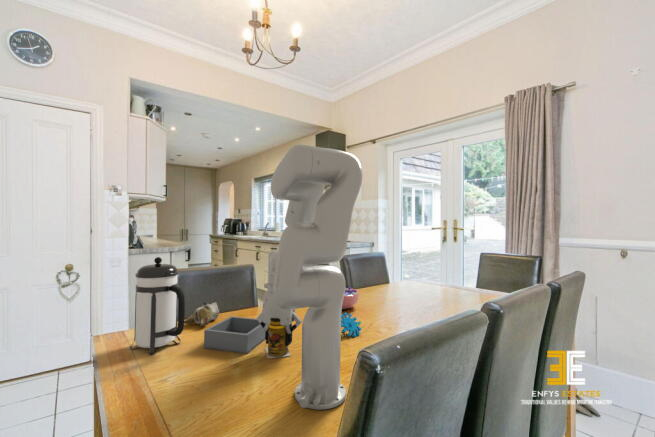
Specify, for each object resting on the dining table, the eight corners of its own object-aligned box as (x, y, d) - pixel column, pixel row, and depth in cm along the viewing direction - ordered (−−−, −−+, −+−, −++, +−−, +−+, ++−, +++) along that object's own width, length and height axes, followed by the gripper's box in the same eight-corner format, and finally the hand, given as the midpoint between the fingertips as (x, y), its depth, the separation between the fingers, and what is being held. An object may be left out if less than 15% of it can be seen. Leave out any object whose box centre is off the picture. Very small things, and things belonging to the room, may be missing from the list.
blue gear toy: (346, 336, 110) (336, 311, 116) (337, 344, 112) (328, 320, 119) (368, 334, 116) (357, 311, 122) (359, 342, 119) (349, 319, 125)
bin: (247, 354, 97) (247, 335, 97) (203, 348, 101) (204, 330, 101) (269, 336, 113) (269, 320, 113) (230, 331, 117) (231, 316, 117)
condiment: (267, 359, 94) (268, 320, 94) (265, 348, 102) (265, 312, 102) (290, 356, 96) (291, 318, 96) (286, 346, 104) (287, 310, 104)
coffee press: (120, 359, 92) (123, 260, 93) (138, 340, 108) (140, 255, 108) (183, 353, 97) (185, 259, 97) (191, 335, 112) (193, 254, 113)
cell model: (365, 306, 157) (366, 284, 157) (347, 315, 140) (347, 291, 140) (337, 301, 166) (337, 280, 166) (316, 309, 149) (317, 286, 149)
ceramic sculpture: (225, 299, 132) (201, 310, 118) (226, 318, 132) (202, 332, 118) (205, 297, 135) (179, 308, 121) (206, 316, 136) (180, 329, 121)
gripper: (249, 288, 98) (248, 344, 97) (300, 292, 93) (299, 351, 93) (260, 284, 105) (259, 336, 105) (308, 287, 101) (307, 342, 100)
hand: (278, 342), depth 99 cm, fingers closed on condiment, 6 cm apart
